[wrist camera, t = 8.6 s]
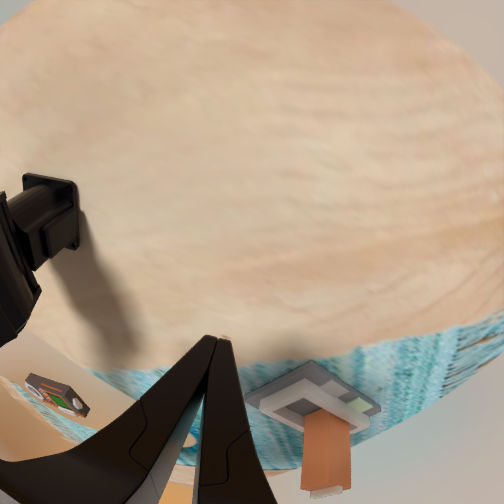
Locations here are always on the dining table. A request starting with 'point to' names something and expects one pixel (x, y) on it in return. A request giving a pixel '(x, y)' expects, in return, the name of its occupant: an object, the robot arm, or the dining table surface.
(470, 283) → the dining table surface
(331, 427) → the orange juice carton
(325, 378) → the grey framed base plate
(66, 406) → the electronic device
